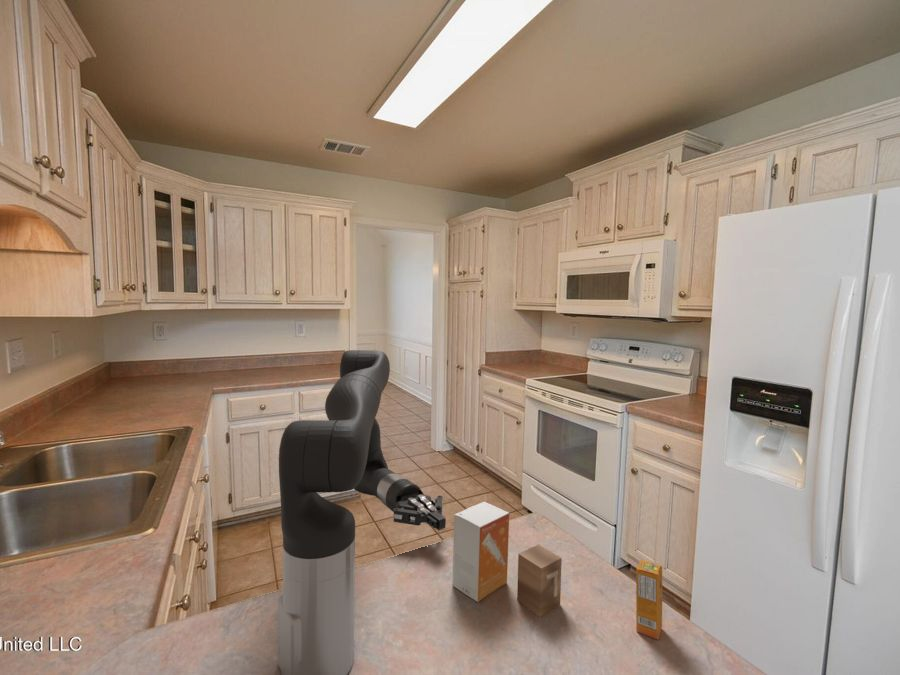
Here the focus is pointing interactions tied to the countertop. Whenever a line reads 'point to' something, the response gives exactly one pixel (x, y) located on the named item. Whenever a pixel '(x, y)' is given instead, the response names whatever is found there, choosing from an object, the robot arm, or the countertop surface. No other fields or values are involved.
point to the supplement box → (649, 599)
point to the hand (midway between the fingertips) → (442, 524)
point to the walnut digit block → (539, 579)
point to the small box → (480, 550)
